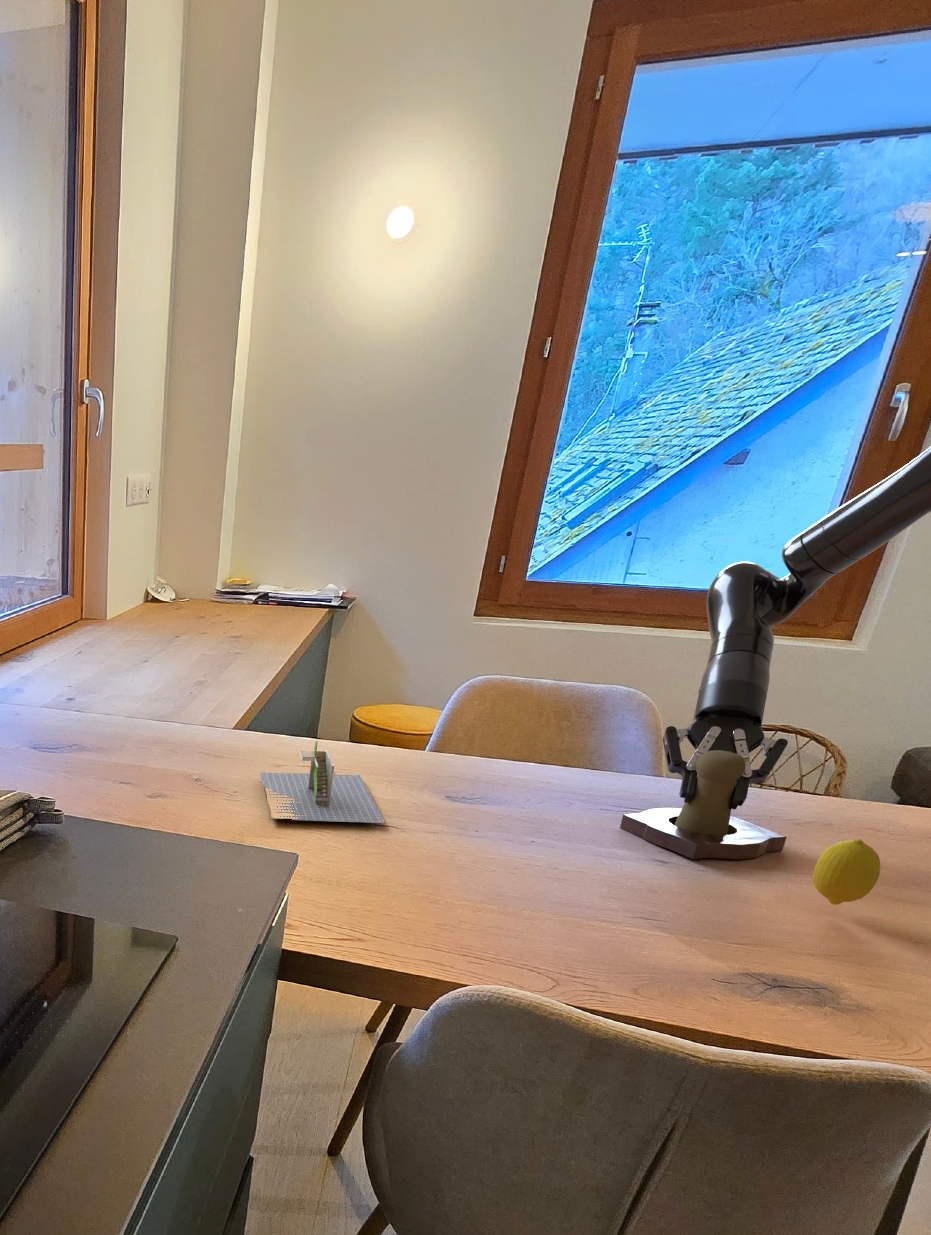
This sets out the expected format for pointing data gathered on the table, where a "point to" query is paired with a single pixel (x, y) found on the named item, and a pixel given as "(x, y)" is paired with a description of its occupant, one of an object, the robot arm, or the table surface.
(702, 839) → the holder
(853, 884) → the lemon
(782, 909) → the table surface
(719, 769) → the cork
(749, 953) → the table surface
